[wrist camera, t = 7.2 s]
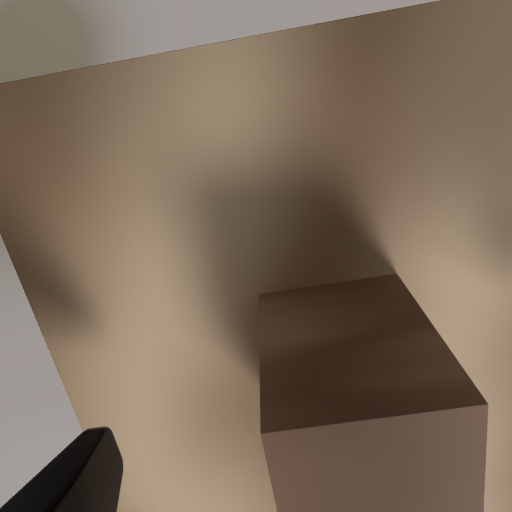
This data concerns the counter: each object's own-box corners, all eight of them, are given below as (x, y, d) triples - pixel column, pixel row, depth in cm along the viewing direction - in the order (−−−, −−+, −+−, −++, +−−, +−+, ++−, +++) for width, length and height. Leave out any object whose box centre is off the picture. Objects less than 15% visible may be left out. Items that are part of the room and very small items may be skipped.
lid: (652, -37, 8) (1153, -173, 3) (573, 481, 13) (739, 695, 8) (-31, 92, 9) (-326, 114, 4) (142, 531, 14) (88, 750, 9)
